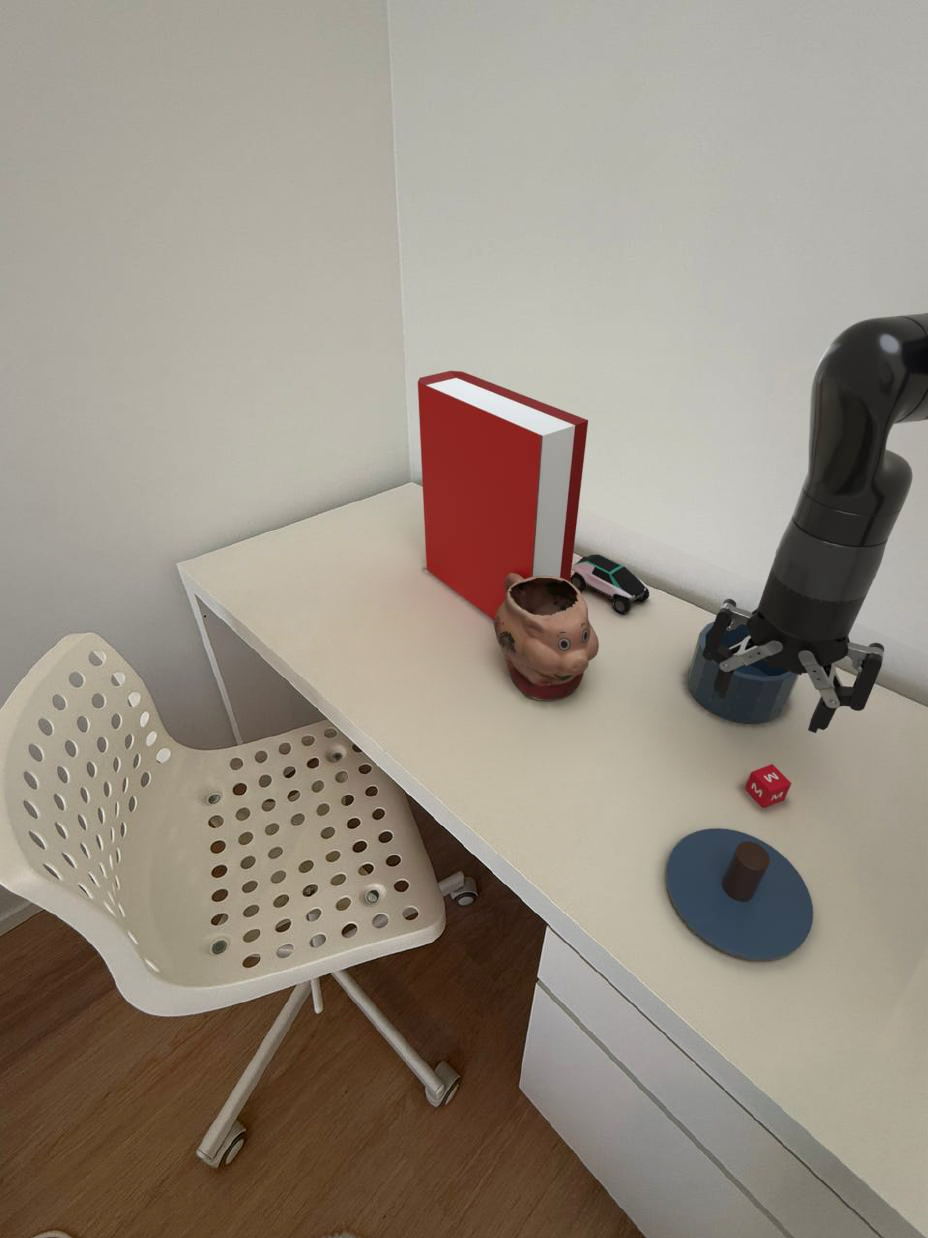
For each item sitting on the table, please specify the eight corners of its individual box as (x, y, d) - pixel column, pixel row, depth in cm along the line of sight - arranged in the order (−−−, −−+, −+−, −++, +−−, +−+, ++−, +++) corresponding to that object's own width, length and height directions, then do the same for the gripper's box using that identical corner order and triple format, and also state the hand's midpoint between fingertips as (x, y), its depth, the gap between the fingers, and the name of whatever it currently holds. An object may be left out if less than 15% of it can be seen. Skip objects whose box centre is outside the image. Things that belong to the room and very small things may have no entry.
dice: (762, 808, 72) (770, 791, 71) (744, 788, 75) (751, 771, 73) (784, 800, 73) (792, 783, 71) (765, 780, 75) (772, 763, 74)
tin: (798, 685, 88) (816, 642, 84) (766, 739, 81) (784, 695, 76) (709, 648, 95) (721, 606, 90) (672, 694, 87) (683, 651, 83)
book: (565, 624, 100) (588, 420, 80) (526, 644, 96) (540, 435, 76) (458, 551, 117) (456, 369, 97) (422, 566, 113) (412, 379, 94)
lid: (827, 885, 65) (850, 846, 61) (782, 997, 57) (806, 960, 53) (697, 813, 72) (711, 773, 68) (640, 903, 64) (652, 864, 60)
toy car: (589, 572, 111) (593, 545, 108) (648, 602, 104) (654, 574, 101) (567, 585, 108) (570, 558, 105) (625, 617, 101) (630, 589, 98)
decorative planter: (464, 646, 95) (463, 566, 87) (532, 621, 100) (538, 543, 92) (542, 733, 81) (550, 648, 73) (617, 699, 86) (633, 616, 78)
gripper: (722, 569, 55) (684, 706, 64) (915, 622, 49) (840, 765, 58) (743, 531, 60) (704, 664, 70) (920, 575, 54) (850, 714, 64)
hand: (766, 710), depth 64 cm, fingers open, 8 cm apart
